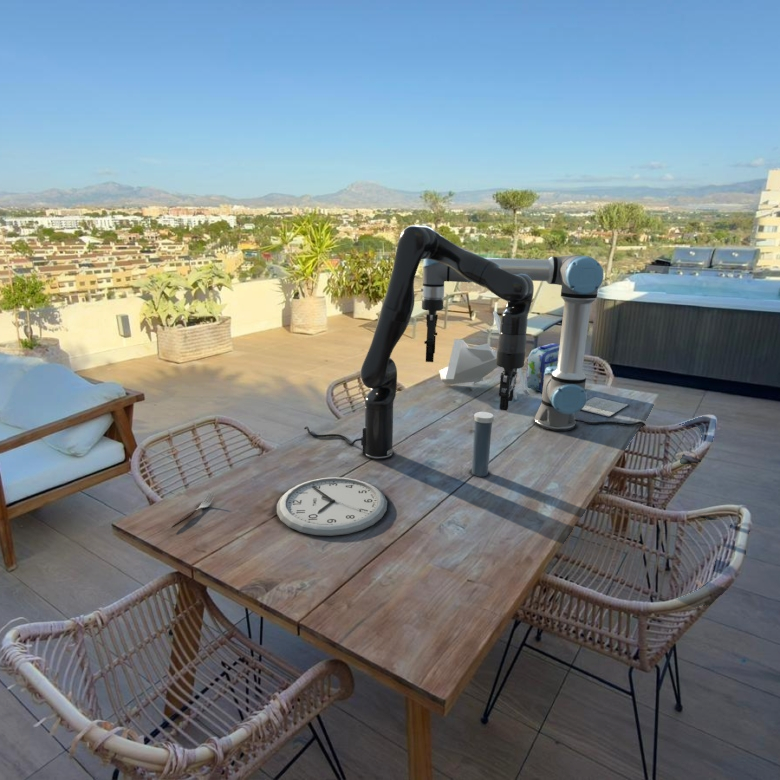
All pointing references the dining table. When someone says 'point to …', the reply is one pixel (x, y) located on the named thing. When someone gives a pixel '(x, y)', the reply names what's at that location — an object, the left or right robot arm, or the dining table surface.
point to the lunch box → (541, 364)
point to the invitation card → (603, 406)
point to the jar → (481, 448)
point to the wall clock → (331, 506)
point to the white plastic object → (474, 363)
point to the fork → (203, 505)
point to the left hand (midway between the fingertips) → (506, 405)
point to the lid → (483, 417)
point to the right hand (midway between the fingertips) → (430, 357)
